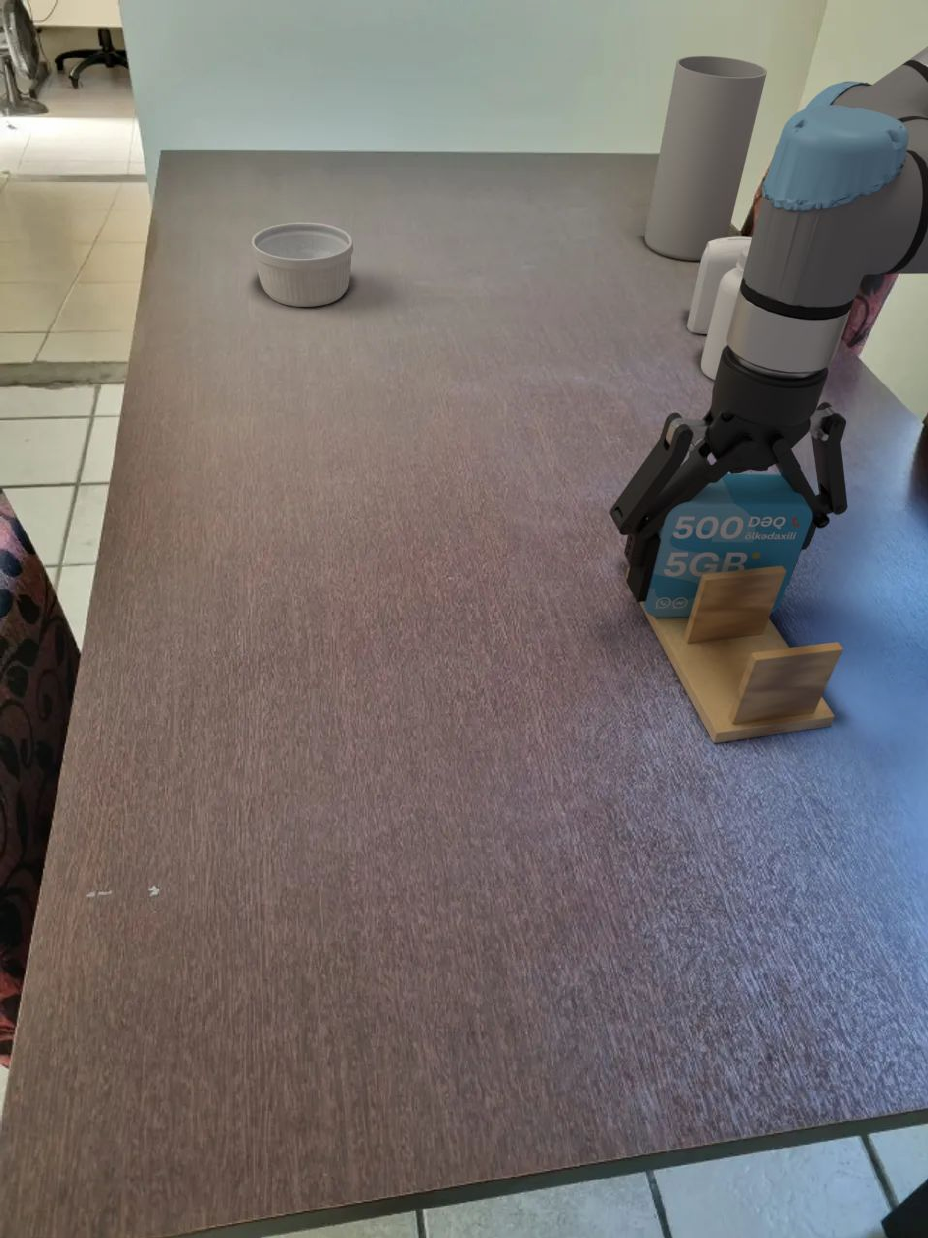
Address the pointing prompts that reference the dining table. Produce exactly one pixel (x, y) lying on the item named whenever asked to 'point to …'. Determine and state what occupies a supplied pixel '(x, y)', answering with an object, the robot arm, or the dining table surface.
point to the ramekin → (303, 263)
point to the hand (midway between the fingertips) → (707, 584)
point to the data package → (727, 538)
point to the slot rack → (746, 659)
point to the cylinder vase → (702, 153)
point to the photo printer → (713, 278)
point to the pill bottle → (722, 316)
